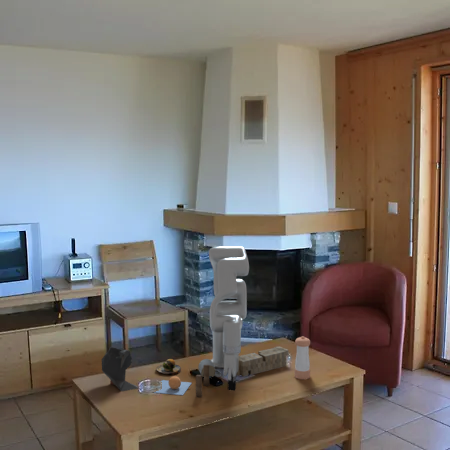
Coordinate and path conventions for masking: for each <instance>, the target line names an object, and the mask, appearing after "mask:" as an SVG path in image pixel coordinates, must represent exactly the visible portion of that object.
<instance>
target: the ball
mask: <svg viewBox="0 0 450 450" xmlns="http://www.w3.org/2000/svg"><path fill="white" fill-rule="evenodd" d="M168 381H169V382H168V384H169V386H170V388H172V389H177V388H179V387H180V385H181V382H182V381H181V379H180V377H179V376H177V375H172V376H171V377H170V378H169V379H168Z"/></svg>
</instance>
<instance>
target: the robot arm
mask: <svg viewBox="0 0 450 450" xmlns="http://www.w3.org/2000/svg"><path fill="white" fill-rule="evenodd" d="M208 258H209V261H210V264H211V267H212V270H213V293H214V298H213V300H212V301H211V303H210V306H209V307H210V308H209V324H210V325H209V326H210V330H211V331H212V358H211V359H210V360H211V361H212V362H213V364H214V367H215V368H218V369H223V377H226V376H227V390H228V391H233V392H235V391H236V389H237V381H236V380H237V379H236V378H237V375H236V374H237V372H238V369H239V356H240V355H239V354H240V353H241V350H242V348H241V347H242V345H241V343H242V342H241V340H242V336H241V334H242V333H241V331H242V328H243V323H244V322H243V320H245V319H246V317H247V311H248V309H247V307H248V306H247V305H248V302H247V299H248V297H247V296H248V295H247V284H246V282H245V280H243V279H242V278H237V277H246V276H248V275H249V271H250V264H249V258H248V255H247V251H246V249H245V247H244V246H241V245H240V246H239V245H238V246H234V245H233V246H232V245H231V246H229V245H227V246H226V245H225V246H224V245H223V246H212V247H211V248H210V249H209V251H208ZM227 299H229V300H227ZM231 299H233V300H231ZM234 299H236V300H234Z"/></svg>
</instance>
